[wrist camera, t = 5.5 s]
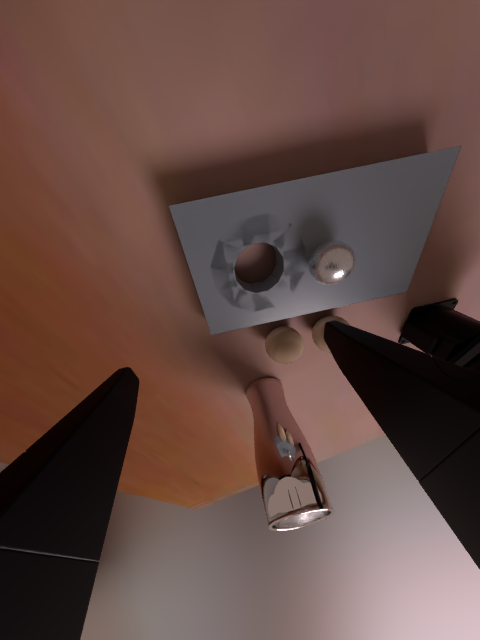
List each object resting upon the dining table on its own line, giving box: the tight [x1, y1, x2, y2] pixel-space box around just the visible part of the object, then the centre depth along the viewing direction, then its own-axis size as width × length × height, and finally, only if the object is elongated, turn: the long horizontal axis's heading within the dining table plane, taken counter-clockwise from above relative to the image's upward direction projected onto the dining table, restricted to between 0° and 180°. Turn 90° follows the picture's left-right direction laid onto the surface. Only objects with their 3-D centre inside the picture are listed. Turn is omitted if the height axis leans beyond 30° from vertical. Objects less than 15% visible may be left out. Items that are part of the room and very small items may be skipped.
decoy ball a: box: [312, 316, 350, 353], centre depth 22 cm, size 4×4×4 cm
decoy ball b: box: [265, 326, 304, 364], centre depth 22 cm, size 4×4×4 cm
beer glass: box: [246, 377, 334, 531], centre depth 24 cm, size 7×7×15 cm
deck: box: [169, 146, 461, 335], centre depth 18 cm, size 22×12×2 cm, turn 100°
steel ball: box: [308, 241, 356, 285], centre depth 15 cm, size 4×4×4 cm
